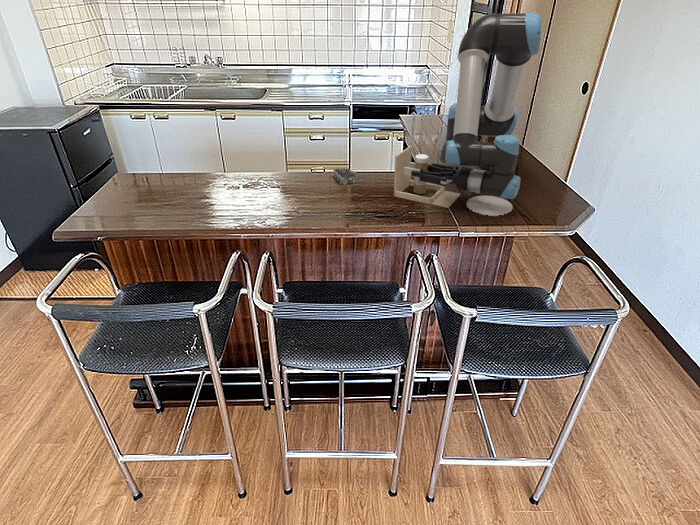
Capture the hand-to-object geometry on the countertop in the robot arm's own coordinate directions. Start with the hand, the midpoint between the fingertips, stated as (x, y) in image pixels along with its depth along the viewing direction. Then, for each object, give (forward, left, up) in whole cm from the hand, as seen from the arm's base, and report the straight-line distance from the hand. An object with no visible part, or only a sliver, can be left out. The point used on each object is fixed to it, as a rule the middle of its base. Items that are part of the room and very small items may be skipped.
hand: (407, 168), depth 157 cm
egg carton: (+12, -23, -9) cm, 28 cm away
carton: (-4, +8, -9) cm, 12 cm away
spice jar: (-2, +5, -8) cm, 10 cm away
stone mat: (-14, +27, -9) cm, 32 cm away
